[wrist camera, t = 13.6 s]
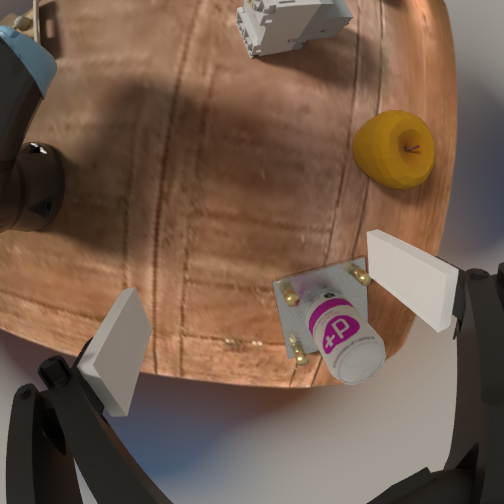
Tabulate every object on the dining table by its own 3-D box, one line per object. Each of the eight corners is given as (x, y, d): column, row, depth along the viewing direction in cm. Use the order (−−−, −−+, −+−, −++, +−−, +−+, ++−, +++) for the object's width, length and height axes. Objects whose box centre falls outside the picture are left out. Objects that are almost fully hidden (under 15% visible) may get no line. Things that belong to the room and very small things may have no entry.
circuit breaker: (333, 45, 34) (377, 5, 20) (250, 58, 34) (265, 8, 20) (317, 11, 32) (351, -35, 17) (235, 22, 32) (242, -33, 17)
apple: (393, 188, 42) (443, 197, 30) (337, 180, 41) (381, 187, 28) (396, 125, 39) (446, 118, 26) (340, 112, 38) (383, 95, 25)
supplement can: (294, 309, 45) (322, 366, 31) (335, 280, 44) (379, 327, 30) (316, 339, 47) (346, 396, 33) (354, 313, 47) (395, 362, 32)
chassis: (287, 355, 49) (293, 372, 44) (271, 279, 44) (277, 292, 39) (365, 331, 49) (376, 345, 45) (362, 255, 45) (376, 265, 40)
